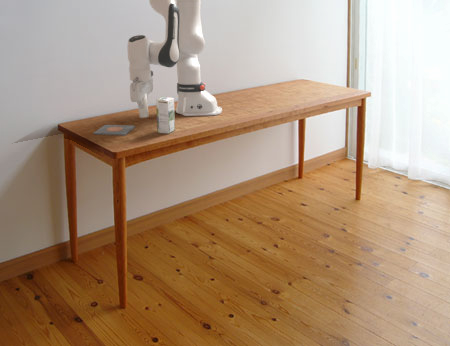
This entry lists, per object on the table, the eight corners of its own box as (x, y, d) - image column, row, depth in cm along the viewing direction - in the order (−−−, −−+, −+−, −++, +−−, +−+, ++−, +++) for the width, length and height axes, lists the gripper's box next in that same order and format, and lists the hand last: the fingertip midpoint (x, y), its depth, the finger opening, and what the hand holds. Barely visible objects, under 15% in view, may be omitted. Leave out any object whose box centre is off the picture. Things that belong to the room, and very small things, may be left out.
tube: (149, 115, 240) (147, 92, 236) (146, 117, 236) (144, 94, 233) (140, 115, 241) (138, 92, 237) (138, 117, 237) (135, 94, 233)
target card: (135, 127, 243) (134, 125, 243) (125, 135, 231) (124, 133, 231) (105, 126, 245) (105, 124, 245) (93, 134, 233) (93, 132, 233)
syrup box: (163, 129, 239) (161, 96, 234) (175, 130, 237) (174, 97, 232) (157, 132, 234) (155, 99, 229) (169, 134, 232) (167, 100, 227)
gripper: (139, 80, 222) (142, 113, 227) (154, 70, 241) (156, 101, 246) (124, 80, 223) (128, 113, 228) (140, 70, 242) (143, 101, 247)
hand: (143, 107), depth 237 cm, fingers closed on tube, 4 cm apart
